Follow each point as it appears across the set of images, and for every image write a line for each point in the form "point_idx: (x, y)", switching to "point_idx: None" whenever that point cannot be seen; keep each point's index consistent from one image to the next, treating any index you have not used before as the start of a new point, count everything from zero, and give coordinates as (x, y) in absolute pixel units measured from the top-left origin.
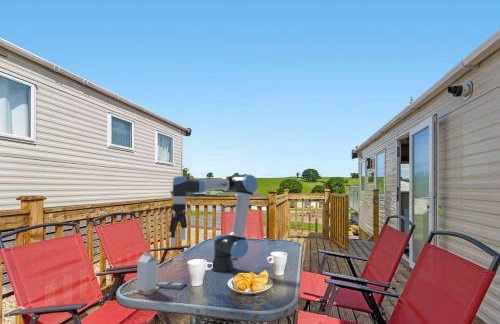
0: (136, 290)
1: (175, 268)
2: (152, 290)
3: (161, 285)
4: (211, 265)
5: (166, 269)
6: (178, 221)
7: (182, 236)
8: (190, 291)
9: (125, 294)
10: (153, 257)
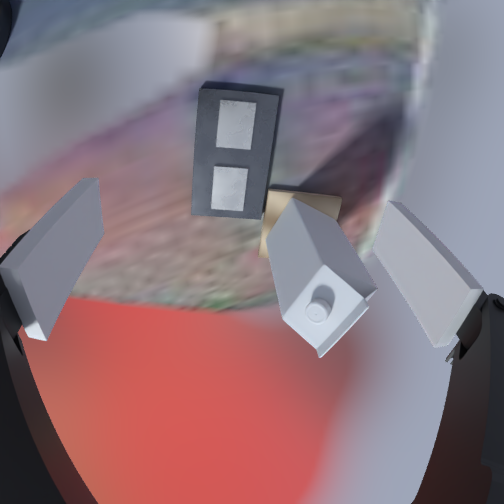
0: None
1: (12, 226)
2: (313, 202)
3: (254, 187)
4: None
5: None
6: (484, 463)
7: (86, 225)
8: (299, 48)
9: None
10: (349, 288)
